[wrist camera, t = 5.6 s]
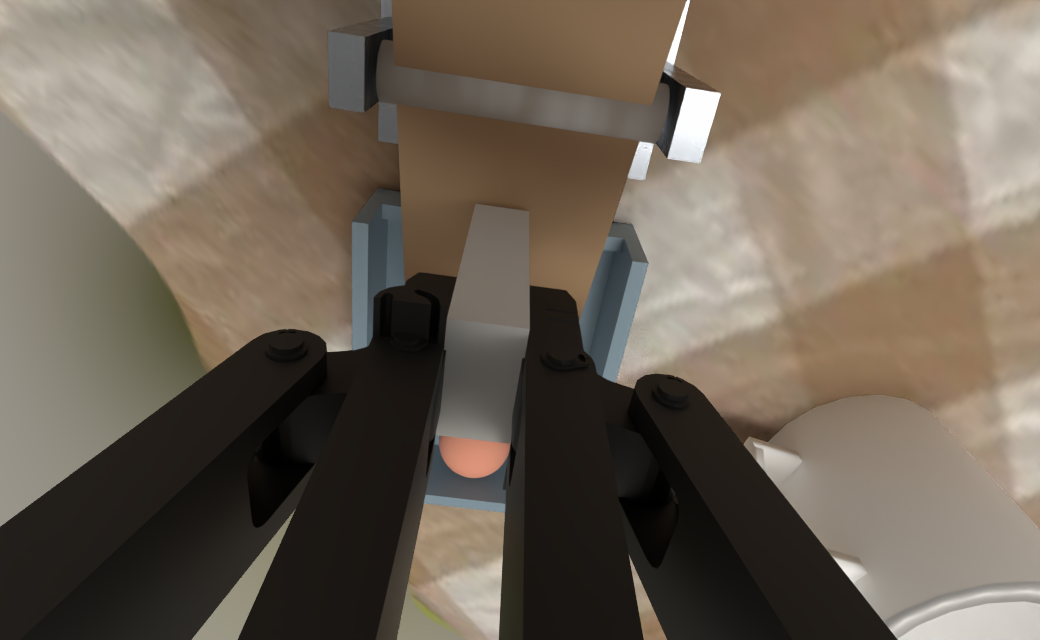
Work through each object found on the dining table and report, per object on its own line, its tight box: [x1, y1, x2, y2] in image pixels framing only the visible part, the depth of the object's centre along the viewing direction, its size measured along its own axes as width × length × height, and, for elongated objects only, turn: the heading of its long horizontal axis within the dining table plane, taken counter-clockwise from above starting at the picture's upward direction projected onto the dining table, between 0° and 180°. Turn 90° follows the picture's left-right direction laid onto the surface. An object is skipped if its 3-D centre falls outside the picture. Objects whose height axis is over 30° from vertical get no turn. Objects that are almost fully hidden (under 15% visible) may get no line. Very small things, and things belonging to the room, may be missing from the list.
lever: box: [376, 0, 687, 320], centre depth 15 cm, size 24×7×10 cm, turn 172°
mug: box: [743, 394, 1040, 640], centre depth 27 cm, size 14×10×11 cm
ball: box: [439, 436, 511, 478], centre depth 29 cm, size 4×4×4 cm
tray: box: [352, 188, 648, 513], centre depth 27 cm, size 14×11×4 cm
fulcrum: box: [328, 0, 721, 180], centre depth 18 cm, size 6×9×10 cm, turn 82°
